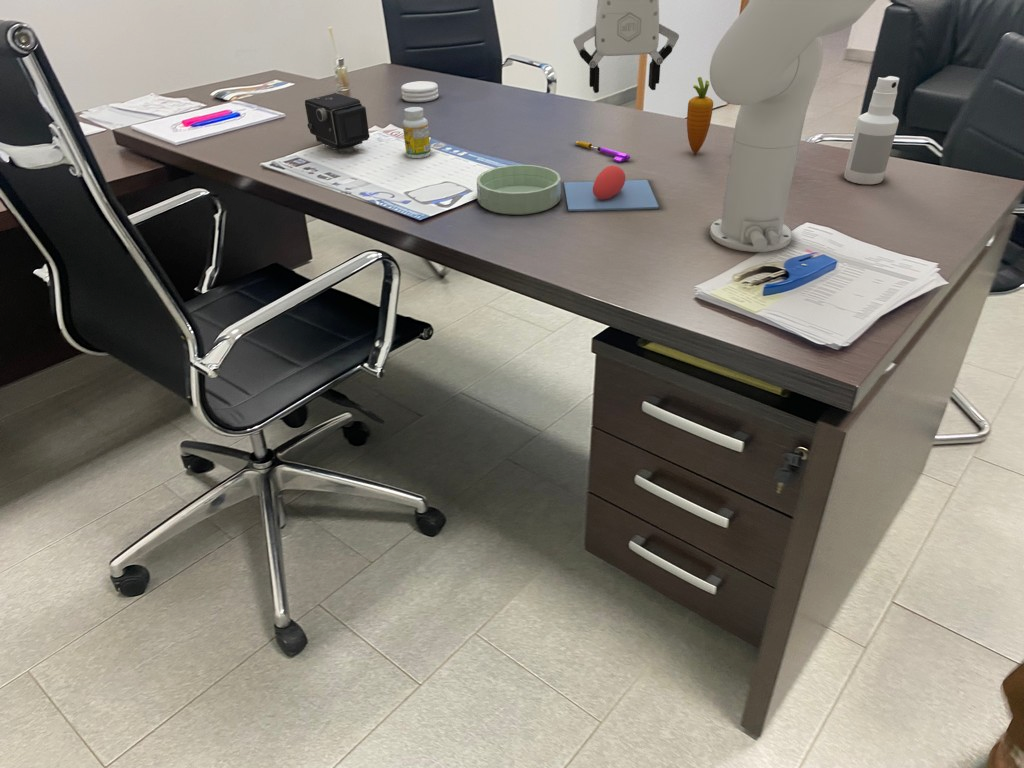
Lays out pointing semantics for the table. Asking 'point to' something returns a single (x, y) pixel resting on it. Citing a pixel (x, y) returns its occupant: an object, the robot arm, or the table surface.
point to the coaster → (419, 91)
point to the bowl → (518, 189)
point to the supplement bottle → (416, 133)
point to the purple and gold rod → (606, 151)
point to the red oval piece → (609, 182)
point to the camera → (337, 121)
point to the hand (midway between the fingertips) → (623, 89)
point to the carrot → (699, 116)
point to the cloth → (627, 198)
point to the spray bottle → (874, 135)
